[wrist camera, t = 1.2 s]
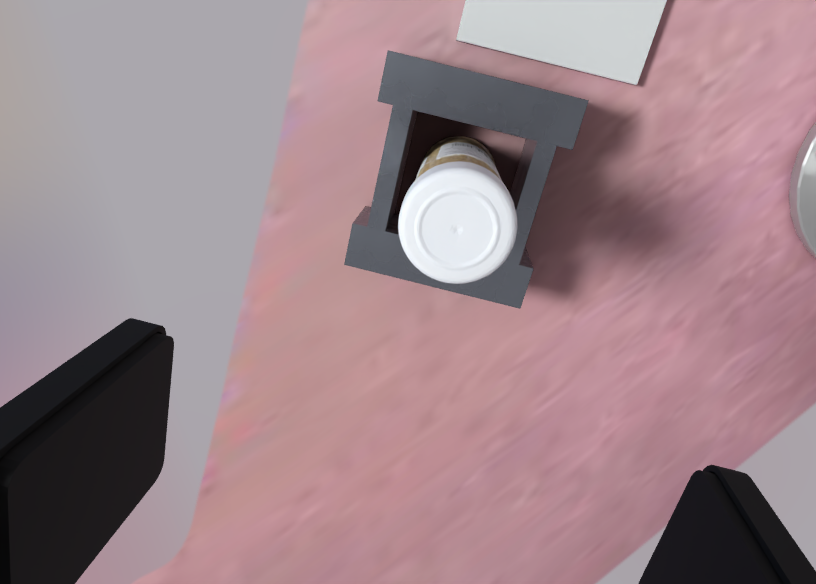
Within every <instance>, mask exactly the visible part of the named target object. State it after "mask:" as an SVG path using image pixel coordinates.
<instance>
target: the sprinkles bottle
mask: <svg viewBox="0 0 816 584" xmlns="http://www.w3.org/2000/svg"><path fill="white" fill-rule="evenodd" d="M398 231H399V238H400V242H401V245H402V248H403V250H404V252H405V254H406V255H407V257H408V259H409V260H410V261H411V263H412V264H413V265H414V266H415V267H416V268H417V269H419V270H420V271H421V272H422V273H424V274H425V275H427V276H429V277H431V278H433V279H435V280H438V281H441V282H445V283H453V284H463V283H469V282H473V281H477V280H479V279H482V278H484V277H486V276H488V275H490V274H491V273H493V272H494V271H495V270H496V269H498V268H499V267H500V266H501V265H502V264H503V263H504V261H505V260H506V259H507V257H508V256H509V254H510V252H511V250H512V248H513V246H514V243H515V239H516V234H517V214H516V210H515V206H514V203H513V200H512V198H511V195H510V193H509V191H508V189H507V188H506V186H505V185H504V183H503V182H502V180H501V178H500V176H499V173H498V171H497V169H496V165H495V161H494V159H493V157H492V155H491V153H490V152H489V150H488V149H487V148H485V147H484V145H482V144H481V143H479V142H478V141H477V140H475V139H472V138H469V137H464V136H455V137H447V138H445V139H443V140H441V141H439V142H437V143H435V144H434V145H433V146H432V147H431V148H430V149H429V151H428V152H427V153H426V154H425V156H424V159H423V161H422V164H421V166H420V169H419V171H418V174H417V177H416V180H415V181H414V183H413V184H412V185H411V186H410V188H409V190H408V191H407V193H406V195H405V198H404V200H403V203H402V206H401V210H400V214H399V220H398Z"/></svg>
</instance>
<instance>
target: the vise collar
mask: <svg viewBox="0 0 816 584" xmlns="http://www.w3.org/2000/svg"><path fill="white" fill-rule="evenodd" d="M378 101H379V102H383V103H387V104H391V105H393V108H392V113H391V117H390V122H389V127H388V131H387V136H386V141H385V145H384V150H383V155H382V159H381V164H380V169H379V173H378V178H377V183H376V188H375V192H374V197H373V202H372V206H371V207H367V206H365V208H364V209H363V210H362V212H361V213H360V214H359V216H358V217H357V218H356V219H355V221H354V222H353V224H352V229H351V234H350V239H349V244H348V249H347V253H346V258H345V263H344V265H348V266H352V267H356V268H360V269H364V270H368V271H372V272H376V273H380V274H384V275H388V276H392V277H396V278H400V279H404V280H408V281H412V282H416V283H420V284H424V285H428V286H432V287H436V288H440V289H444V290H448V291H452V292H456V293H460V294H464V295H468V296H472V297H476V298H480V299H484V300H488V301H492V302H496V303H500V304H504V305H508V306H512V307H516V308H521V305H522V302H523V299H524V296H525V293H526V290H527V287H528V284H529V281H530V278H531V275H532V272H533V266H532V263H531V261H530V258H529V255H528V253H527V250H526V247H525V245H526V241H527V238H528V235H529V232H530V229H531V226H532V223H533V219H534V216H535V213H536V210H537V207H538V204H539V201H540V197H541V194H542V191H543V188H544V185H545V182H546V179H547V175H548V172H549V169H550V166H551V163H552V160H553V157H554V153H555V150H556V147H557V146H559V147H563V148H567V149H571V150H573V147H574V144H575V141H576V138H577V135H578V132H579V129H580V125H581V122H582V119H583V116H584V113H585V110H586V107H587V104H588V101H589V100H585V99H581V98H577V97H573V96H569V95H565V94H561V93H557V92H553V91H549V90H545V89H541V88H537V87H533V86H529V85H525V84H521V83H517V82H513V81H509V80H505V79H501V78H497V77H493V76H489V75H485V74H481V73H477V72H473V71H469V70H465V69H461V68H457V67H453V66H449V65H445V64H441V63H437V62H433V61H429V60H425V59H421V58H417V57H413V56H409V55H405V54H401V53H397V52H393V51H389V50H388V52H387V57H386V62H385V67H384V72H383V77H382V82H381V87H380V91H379V96H378ZM418 111H419V112H423V113H427V114H431V115H435V116H439V117H443V118H447V119H451V120H455V121H459V122H463V123H467V124H471V125H475V126H479V127H483V128H487V129H491V130H495V131H499V132H503V133H507V134H511V135H515V136H519V137H523V138H526V141H525V144H524V148H523V151H522V154H521V158H520V161H519V164H518V168H517V171H516V175H515V178H514V181H513V185H512V188H511V191H510V195H511V198H512V200H513V203H514V206H515V210H516V214H517V234H516V239H515V243H514V246H513V248H512V250H511V252H510V254H509V256H508V257H507V259H506V260H505V261H504V263H503V264H502V265H501V266H500V267H499V268H498V269H496V270H495V271H494V272H493V273H491V274H490V275H488V276H486V277H484V278H482V279H479V280H477V281H473V282H469V283H463V284H453V283H445V282H441V281H438V280H435V279H433V278H431V277H429V276H427V275H425V274H424V273H422V272H421V271H420V270H419V269H417V268H416V267H415V266H414V265H413V264H412V263H411V261H410V260H409V259H408V257H407V255H406V254H405V252H404V250H403V248H402V245H401V242H400V238H399V231H398V220H399V214H395V208H396V204H397V199H398V195H399V191H400V186H401V182H402V178H403V173H404V169H405V164H406V160H407V156H408V151H409V147H410V143H411V138H412V134H413V129H414V125H415V121H416V116H417V112H418Z"/></svg>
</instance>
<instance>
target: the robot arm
mask: <svg viewBox="0 0 816 584" xmlns="http://www.w3.org/2000/svg"><path fill="white" fill-rule="evenodd" d="M815 153H816V122H815V124H814V125H813V126H812V128H811V129H810V130H809V132H808V134H807V136H806V138H805V140H804V142H803V144H802V146H801V148H800V150H799V151H798V154H797V157H796V161H795V164H794V167H793V170H792V173H791V180H790V189H789V203H790V214H791V218H792V221H793V224H794V227H795V230H796V233H797V235H798V237H799V238H800V240H801V242H802V243H803V245H804V247H805V248H806V250H807V251H808V252H809V253H810V254H811V255H812V256H813V257H814V258H815V259H816V154H815ZM173 350H174V341H173V338H172V337H170V336H166V331H165V328H164V327H163V326H160V325H156V324H152V323H148V322H144V321H141V320H136V319H131V318H130V319H128V320H126V321H124V322H123V323H121V324H120V325H118V326H117V327H115V328H114V329H113V330H111V331H110V332H108V333H107V334H106V335H104V336H103V337H101V338H100V339H98V340H97V341H95V342H94V343H92V344H91V345H90V346H88V347H87V348H85V349H84V350H82V351H81V352H80V353H78V354H77V355H75V356H74V357H72V358H71V359H70V360H68V361H67V362H65V363H64V364H62V365H61V366H60V367H58V368H57V369H55V370H54V371H52V372H51V373H49V374H48V375H46V376H45V377H44V378H42V379H41V380H39V381H38V382H37V383H35V384H34V385H32V386H31V387H30V388H28V389H26V390H25V391H24V392H22V393H21V394H19V395H18V396H16V397H15V398H14V399H12V400H11V401H9V402H8V403H6V404H5V405H3V406H2V407H1V408H0V584H75V583H76V582H77V580H78V579H79V578H80V576H81V575H82V574H83V573H84V571H85V570H86V569H87V568H88V566H89V565H90V564H91V562H92V561H93V560H94V559H95V557H96V556H97V555H98V554H99V552H100V551H101V550H102V549H103V547H104V546H105V545H106V543H107V542H108V541H109V539H110V538H111V537H112V536H113V535H114V533H115V532H116V531H117V529H118V528H119V527H120V526H121V524H122V523H123V522H124V521H125V519H126V518H127V517H128V516H129V514H130V513H131V512H132V511H133V509H134V508H135V507H136V505H137V504H138V503H139V502H140V500H141V499H142V498H143V496H144V495H145V494H146V493H147V491H148V490H149V489H150V488H151V486H152V485H153V484H154V483H155V481H156V480H157V478H158V476H159V474H160V472H161V470H162V467H163V462H164V455H165V443H166V432H167V420H168V419H167V418H168V408H169V397H170V385H171V373H172V362H173ZM639 584H816V571H815V570H814V568H813V567H812V566H811V564H810V562H809V561H808V560H807V558H806V557H805V555H804V554H803V552H802V551H801V550H800V548H799V547H798V545H797V544H796V542H795V541H794V539H793V538H792V537H791V535H790V534H789V532H788V531H787V529H786V528H785V527H784V525H783V524H782V522H781V521H780V519H779V518H778V516H777V515H776V514H775V512H774V511H773V509H772V508H771V507H770V505H769V503H768V502H767V501H766V499H765V498H764V496H763V495H762V494H761V492H760V491H759V489H758V488H757V486H756V485H755V483H754V482H753V480H752V479H751V478H750V477H749V476H748V475H747V474H745V473H742V472H739V471H735V470H731V469H727V468H723V467H719V466H715V465H709V466H707V467H706V468H705V469H704V470H703V471H701V470H698V471H696V472H694V473H693V475H692V476H691V478H690V480H689V482H688V484H687V486H686V488H685V490H684V492H683V494H682V496H681V498H680V500H679V502H678V504H677V506H676V508H675V510H674V512H673V514H672V516H671V518H670V520H669V522H668V524H667V526H666V529H665V531H664V533H663V535H662V537H661V539H660V541H659V543H658V545H657V547H656V549H655V551H654V553H653V555H652V557H651V559H650V561H649V563H648V565H647V567H646V569H645V571H644V573H643V576H642V577H641V579H640V581H639Z"/></svg>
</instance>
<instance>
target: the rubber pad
mask: <svg viewBox="0 0 816 584" xmlns="http://www.w3.org/2000/svg"><path fill="white" fill-rule="evenodd" d="M666 1H667V0H466V2H465V6H464V10H463V14H462V18H461V22H460V26H459V31H458V35H457V39H456V40H457V41H461V42H465V43H469V44H473V45H477V46H481V47H485V48H489V49H493V50H497V51H501V52H505V53H509V54H513V55H517V56H521V57H525V58H529V59H533V60H537V61H541V62H545V63H549V64H553V65H557V66H561V67H565V68H569V69H573V70H577V71H581V72H585V73H589V74H593V75H597V76H601V77H605V78H609V79H613V80H617V81H621V82H625V83H629V84H633V85H637V83H638V80H639V78H640V75H641V72H642V69H643V66H644V63H645V61H646V58H647V55H648V52H649V49H650V46H651V44H652V41H653V38H654V35H655V32H656V30H657V27H658V24H659V21H660V18H661V15H662V13H663V10H664V7H665V4H666Z"/></svg>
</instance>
